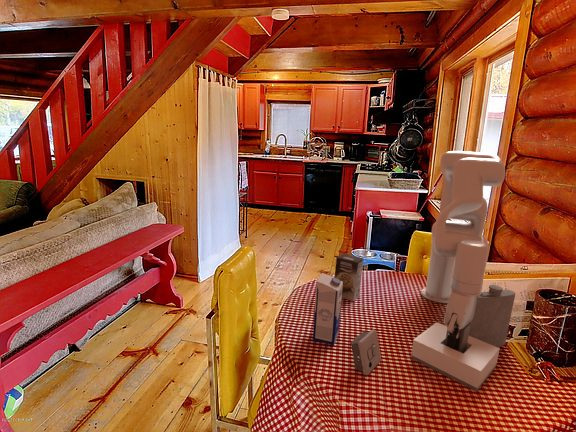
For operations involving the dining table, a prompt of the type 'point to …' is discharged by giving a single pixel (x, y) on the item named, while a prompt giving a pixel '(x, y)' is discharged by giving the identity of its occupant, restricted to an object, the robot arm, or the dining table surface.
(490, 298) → the hip flask
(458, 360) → the socket
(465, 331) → the plug
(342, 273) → the coffee box
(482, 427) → the dining table surface
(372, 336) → the electrical switch
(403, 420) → the dining table surface
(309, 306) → the dining table surface
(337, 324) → the milk carton
